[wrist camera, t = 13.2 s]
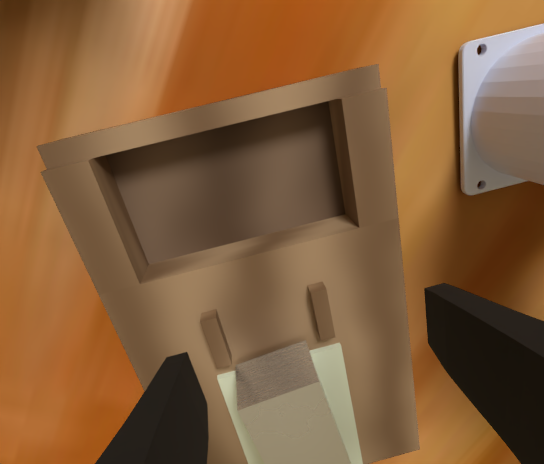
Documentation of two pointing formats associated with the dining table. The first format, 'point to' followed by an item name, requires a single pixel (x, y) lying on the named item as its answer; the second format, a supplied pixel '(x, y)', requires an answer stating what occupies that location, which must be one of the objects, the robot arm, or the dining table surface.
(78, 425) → the dining table surface
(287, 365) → the bar
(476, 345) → the robot arm
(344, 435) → the pad
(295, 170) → the board
